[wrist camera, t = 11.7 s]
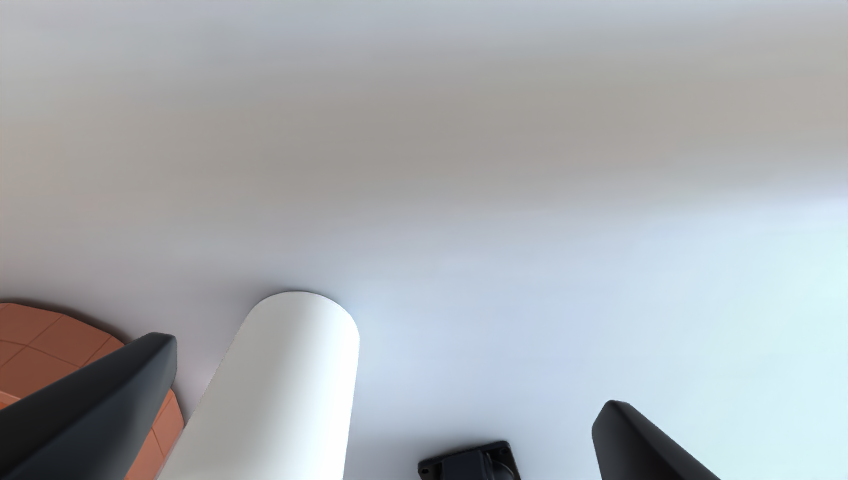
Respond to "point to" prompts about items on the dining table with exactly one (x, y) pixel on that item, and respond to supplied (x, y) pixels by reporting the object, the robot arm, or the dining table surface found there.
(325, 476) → the can
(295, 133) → the dining table surface
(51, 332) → the bowl
